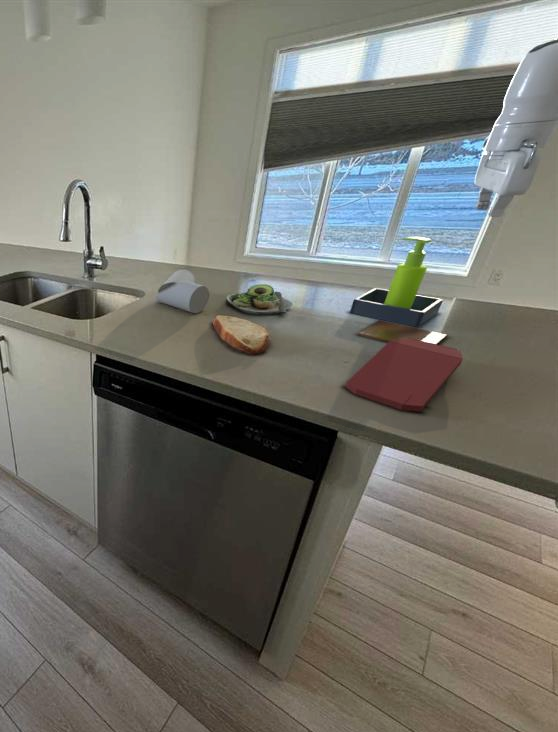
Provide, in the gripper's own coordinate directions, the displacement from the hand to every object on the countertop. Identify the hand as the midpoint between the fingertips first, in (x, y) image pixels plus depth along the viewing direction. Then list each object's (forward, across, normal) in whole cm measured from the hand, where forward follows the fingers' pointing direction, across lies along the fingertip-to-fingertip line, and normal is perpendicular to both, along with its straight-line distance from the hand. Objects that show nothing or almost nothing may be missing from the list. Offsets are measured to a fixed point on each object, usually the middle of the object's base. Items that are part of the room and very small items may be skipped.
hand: (487, 212), depth 88 cm
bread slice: (+27, -21, +44) cm, 56 cm away
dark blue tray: (+27, +8, +8) cm, 29 cm away
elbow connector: (+26, +1, +64) cm, 69 cm away
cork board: (+27, -8, +8) cm, 29 cm away
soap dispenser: (+27, +8, +8) cm, 30 cm away
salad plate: (+27, +5, +42) cm, 50 cm away
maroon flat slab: (+27, -32, +11) cm, 44 cm away
